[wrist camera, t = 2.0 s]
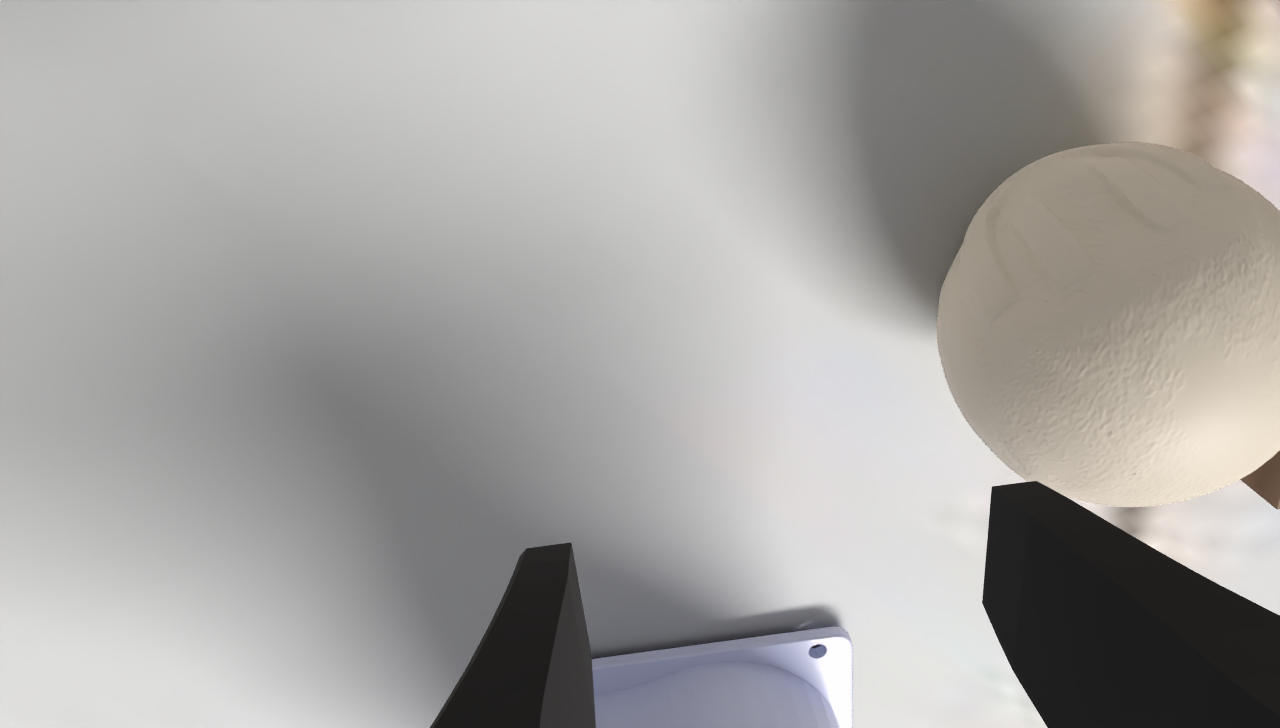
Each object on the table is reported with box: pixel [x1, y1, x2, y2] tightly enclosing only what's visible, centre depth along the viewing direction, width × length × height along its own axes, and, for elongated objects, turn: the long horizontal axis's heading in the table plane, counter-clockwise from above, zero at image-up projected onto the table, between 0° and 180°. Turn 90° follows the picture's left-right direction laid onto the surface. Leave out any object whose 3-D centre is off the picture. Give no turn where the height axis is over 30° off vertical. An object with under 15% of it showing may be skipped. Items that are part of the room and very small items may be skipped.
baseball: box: [937, 142, 1280, 507], centre depth 18 cm, size 7×7×7 cm
